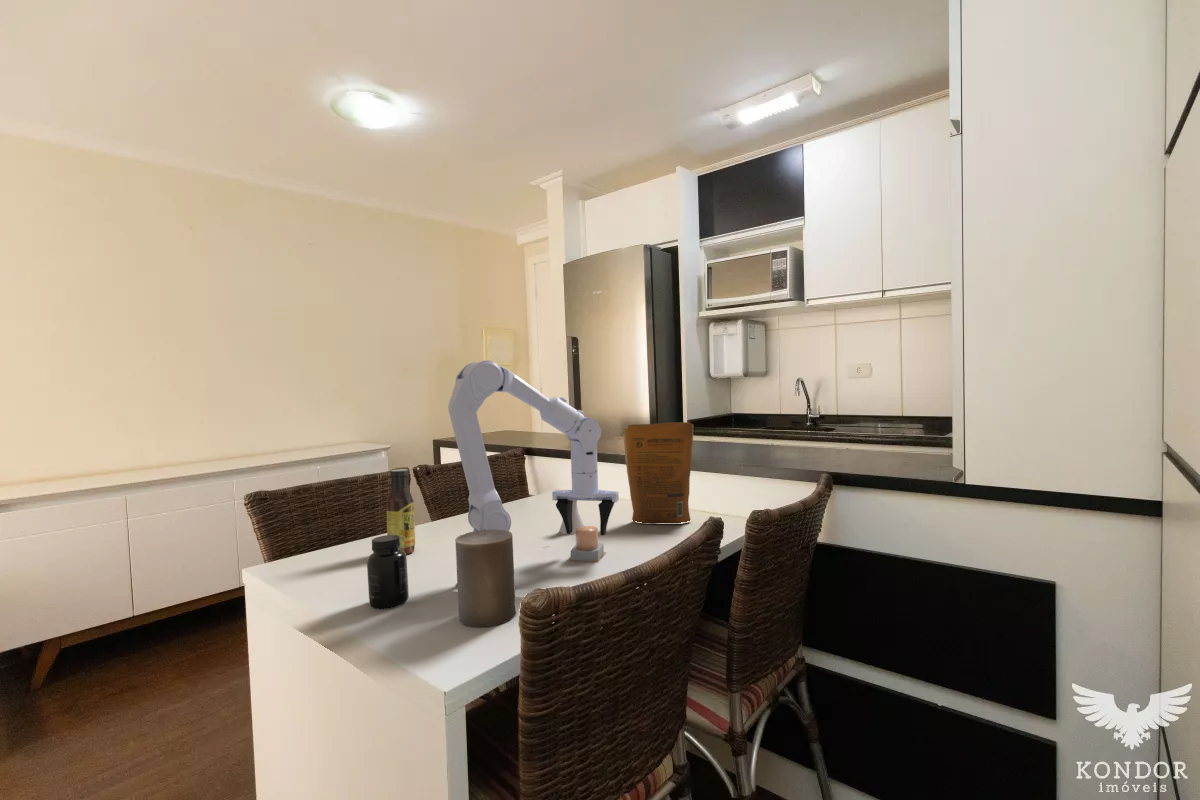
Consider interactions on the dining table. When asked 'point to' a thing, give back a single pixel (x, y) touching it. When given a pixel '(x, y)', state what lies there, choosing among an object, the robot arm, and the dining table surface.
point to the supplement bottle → (387, 573)
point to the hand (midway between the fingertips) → (586, 533)
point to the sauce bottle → (401, 511)
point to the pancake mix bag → (659, 470)
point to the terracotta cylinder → (587, 538)
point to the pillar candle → (485, 577)
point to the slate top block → (587, 553)
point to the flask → (573, 520)
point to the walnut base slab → (588, 561)
